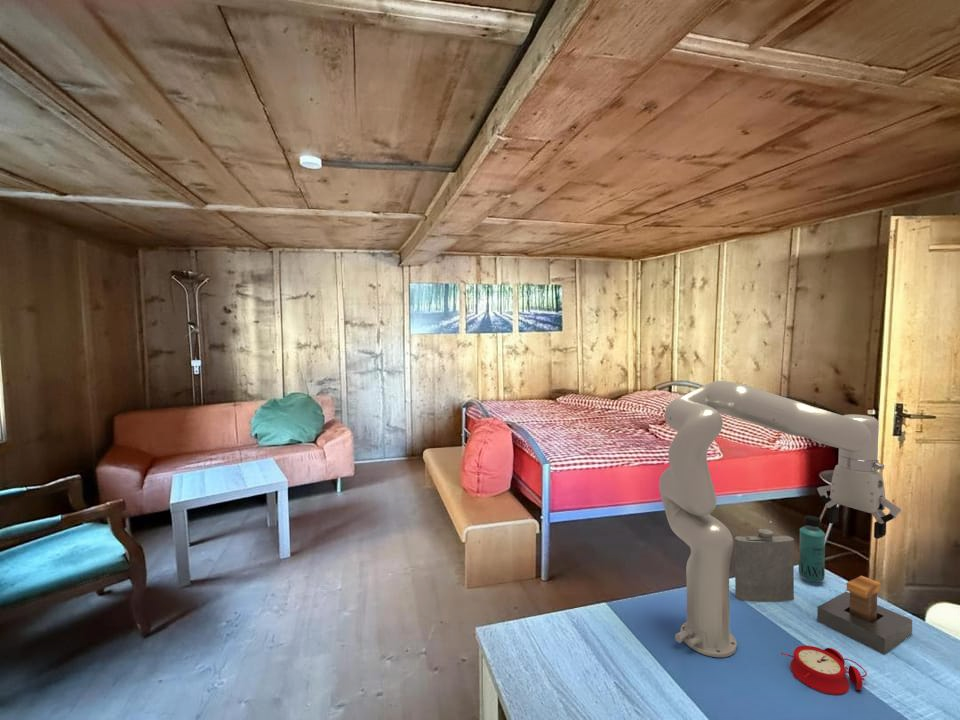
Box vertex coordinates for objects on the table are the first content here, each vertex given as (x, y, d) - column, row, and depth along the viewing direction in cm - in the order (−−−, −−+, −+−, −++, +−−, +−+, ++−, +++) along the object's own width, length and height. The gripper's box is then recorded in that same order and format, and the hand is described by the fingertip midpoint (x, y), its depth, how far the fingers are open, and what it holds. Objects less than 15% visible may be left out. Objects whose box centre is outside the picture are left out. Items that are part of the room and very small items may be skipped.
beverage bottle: (793, 577, 137) (793, 514, 136) (808, 573, 139) (809, 511, 138) (814, 589, 131) (815, 523, 129) (830, 584, 132) (831, 519, 131)
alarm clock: (774, 645, 103) (837, 630, 103) (780, 670, 104) (843, 655, 103) (807, 680, 93) (877, 663, 93) (813, 707, 93) (883, 691, 93)
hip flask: (789, 593, 129) (789, 527, 128) (798, 602, 125) (798, 533, 124) (733, 594, 130) (732, 527, 128) (740, 602, 125) (740, 534, 124)
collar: (884, 654, 104) (884, 638, 104) (817, 621, 116) (817, 606, 116) (912, 635, 110) (912, 619, 110) (845, 605, 123) (845, 591, 122)
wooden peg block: (865, 637, 110) (865, 590, 109) (846, 627, 114) (846, 582, 113) (879, 628, 113) (880, 583, 112) (861, 619, 116) (861, 575, 116)
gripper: (909, 470, 106) (906, 540, 107) (827, 453, 121) (825, 514, 122) (893, 475, 103) (890, 547, 104) (811, 457, 118) (809, 520, 119)
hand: (855, 529), depth 113 cm, fingers open, 9 cm apart
